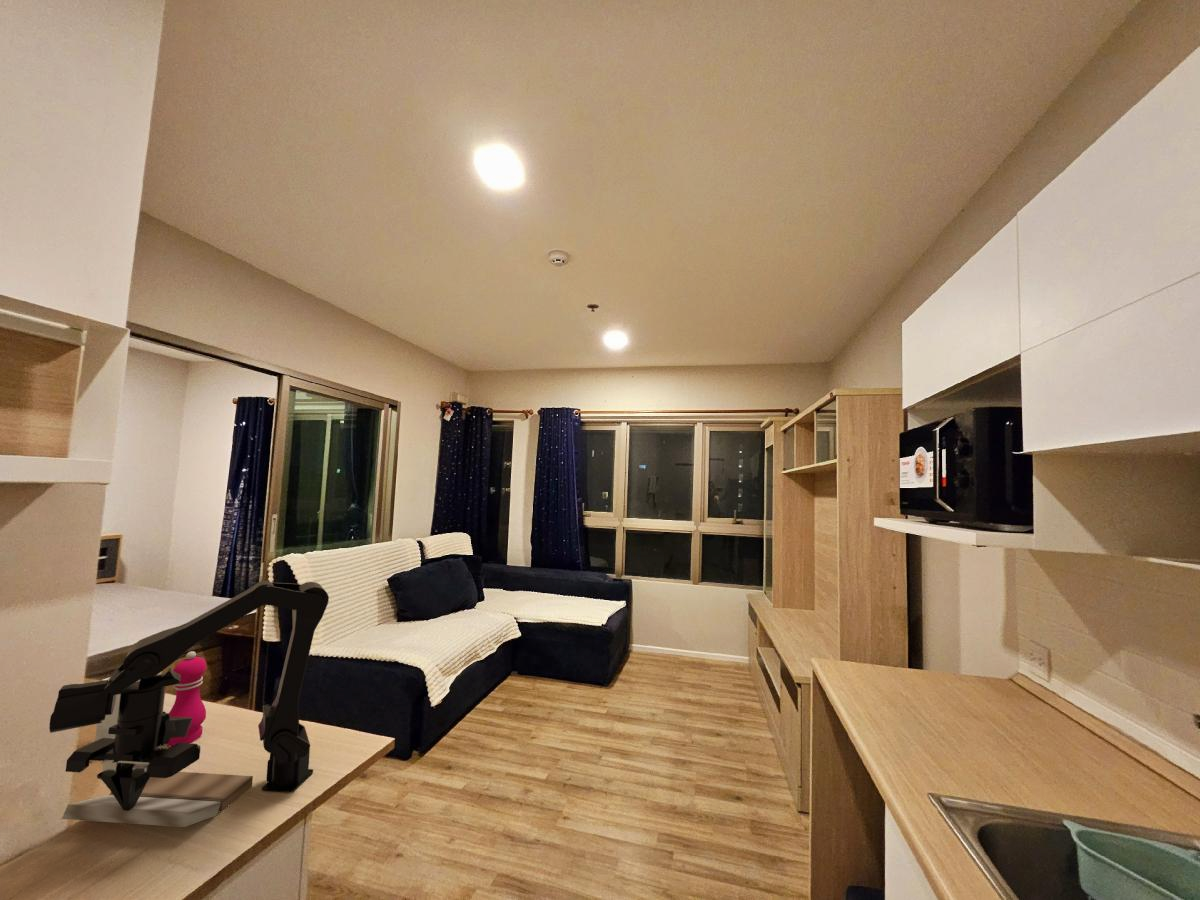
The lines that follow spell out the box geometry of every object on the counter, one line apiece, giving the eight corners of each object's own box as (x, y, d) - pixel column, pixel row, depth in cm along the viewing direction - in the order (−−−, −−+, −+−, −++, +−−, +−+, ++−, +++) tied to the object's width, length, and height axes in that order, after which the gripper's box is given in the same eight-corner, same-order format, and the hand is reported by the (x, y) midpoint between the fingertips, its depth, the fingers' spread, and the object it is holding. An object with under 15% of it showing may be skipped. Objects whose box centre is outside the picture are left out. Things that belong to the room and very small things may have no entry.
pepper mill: (155, 750, 102) (162, 658, 104) (175, 732, 109) (182, 647, 111) (193, 746, 104) (200, 656, 106) (211, 728, 111) (217, 645, 112)
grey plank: (216, 815, 84) (221, 801, 85) (184, 826, 77) (189, 812, 78) (102, 807, 85) (108, 794, 86) (61, 818, 78) (67, 804, 79)
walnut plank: (252, 786, 92) (252, 775, 92) (221, 811, 85) (222, 800, 85) (147, 780, 93) (148, 769, 93) (108, 804, 86) (109, 793, 86)
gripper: (230, 696, 88) (221, 783, 86) (137, 691, 89) (127, 776, 87) (174, 726, 77) (163, 825, 75) (69, 719, 78) (55, 818, 76)
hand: (128, 809), depth 79 cm, fingers closed, pressing on grey plank
